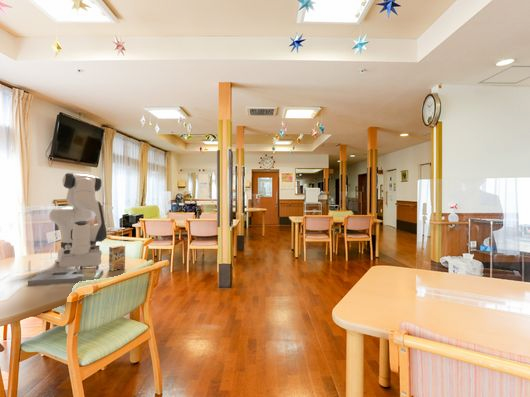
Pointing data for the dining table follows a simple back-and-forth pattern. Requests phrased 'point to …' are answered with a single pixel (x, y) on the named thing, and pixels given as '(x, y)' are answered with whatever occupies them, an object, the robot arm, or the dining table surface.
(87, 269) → the maple block
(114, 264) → the candy box
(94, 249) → the coffee box
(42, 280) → the trap board
